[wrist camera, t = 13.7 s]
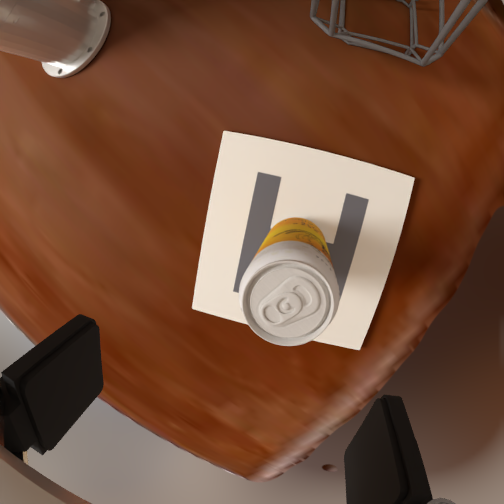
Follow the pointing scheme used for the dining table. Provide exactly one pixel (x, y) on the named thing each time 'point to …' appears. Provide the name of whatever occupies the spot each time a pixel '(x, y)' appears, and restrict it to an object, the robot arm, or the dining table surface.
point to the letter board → (308, 207)
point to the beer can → (290, 285)
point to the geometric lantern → (437, 43)
